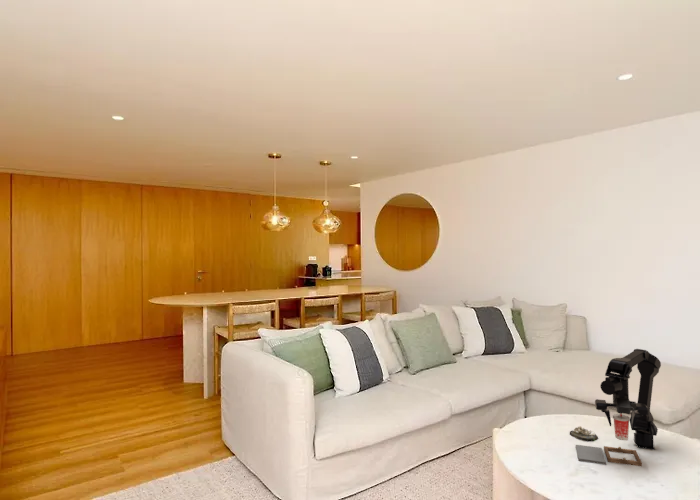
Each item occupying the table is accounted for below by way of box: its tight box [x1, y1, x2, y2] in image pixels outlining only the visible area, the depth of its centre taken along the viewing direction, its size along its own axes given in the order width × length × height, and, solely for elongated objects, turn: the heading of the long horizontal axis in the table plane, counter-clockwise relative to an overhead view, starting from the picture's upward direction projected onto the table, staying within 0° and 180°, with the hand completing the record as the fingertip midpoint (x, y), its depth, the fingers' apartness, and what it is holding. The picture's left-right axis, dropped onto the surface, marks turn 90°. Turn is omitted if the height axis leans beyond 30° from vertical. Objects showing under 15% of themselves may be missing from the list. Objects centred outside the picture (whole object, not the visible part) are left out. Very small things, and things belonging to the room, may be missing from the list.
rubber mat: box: [575, 444, 607, 465], centre depth 189 cm, size 10×14×1 cm
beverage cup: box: [612, 413, 631, 441], centre depth 186 cm, size 6×6×14 cm
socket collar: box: [603, 445, 643, 468], centre depth 186 cm, size 12×12×2 cm
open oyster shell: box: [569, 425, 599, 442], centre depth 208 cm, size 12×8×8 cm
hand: (621, 427), depth 186 cm, fingers closed on beverage cup, 8 cm apart
